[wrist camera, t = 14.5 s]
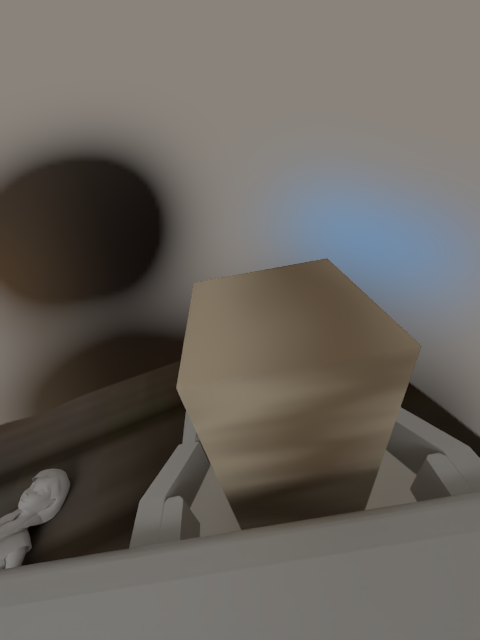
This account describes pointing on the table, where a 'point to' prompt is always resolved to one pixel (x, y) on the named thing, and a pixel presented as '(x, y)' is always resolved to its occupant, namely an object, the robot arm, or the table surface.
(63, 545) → the table surface
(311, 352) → the maple block
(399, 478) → the plate
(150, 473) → the table surface
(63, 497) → the woman figurine
